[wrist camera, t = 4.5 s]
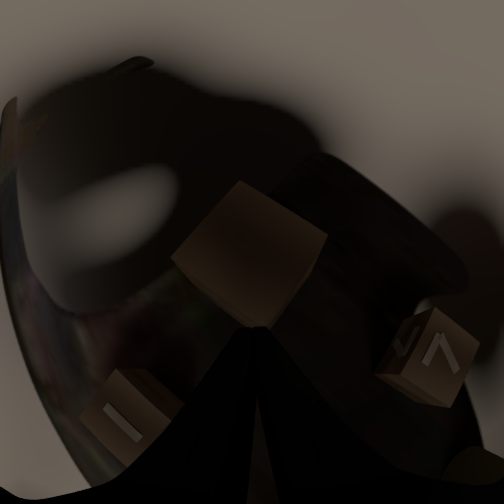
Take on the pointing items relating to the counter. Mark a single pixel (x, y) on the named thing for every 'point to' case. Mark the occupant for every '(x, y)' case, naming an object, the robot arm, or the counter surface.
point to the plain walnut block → (250, 256)
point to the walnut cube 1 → (130, 412)
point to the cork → (474, 467)
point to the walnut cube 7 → (428, 358)
